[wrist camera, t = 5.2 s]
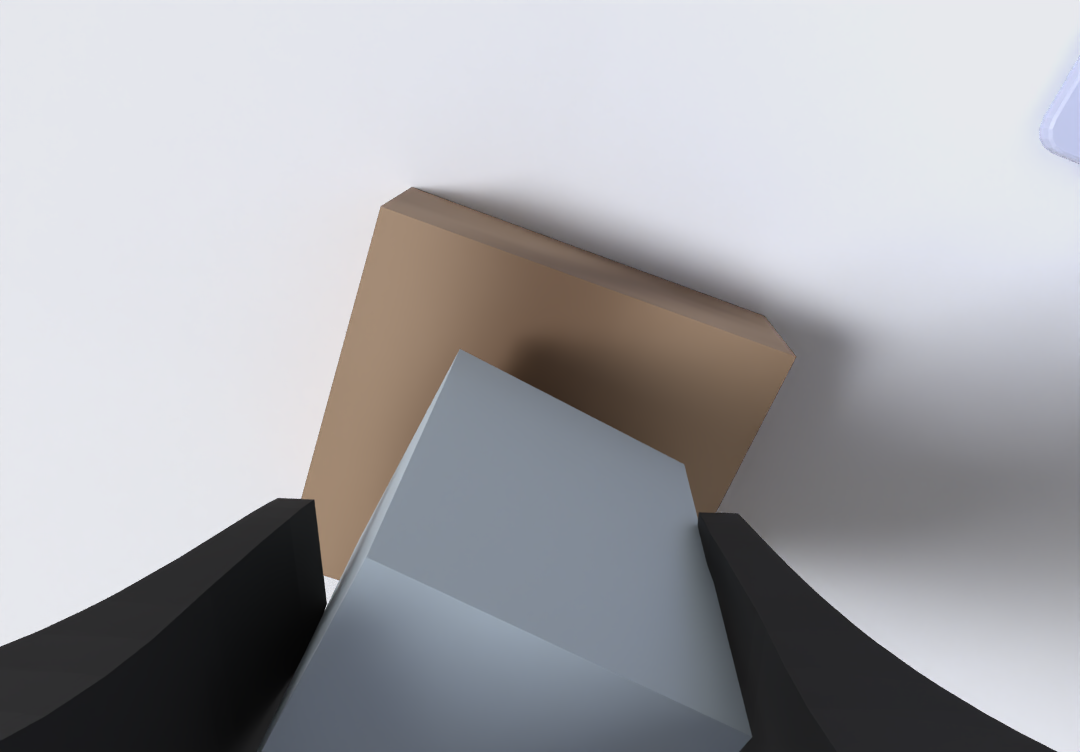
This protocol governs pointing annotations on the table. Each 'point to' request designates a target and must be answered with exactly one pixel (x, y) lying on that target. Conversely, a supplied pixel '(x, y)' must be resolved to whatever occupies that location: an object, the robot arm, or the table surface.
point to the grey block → (520, 596)
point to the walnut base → (530, 354)
